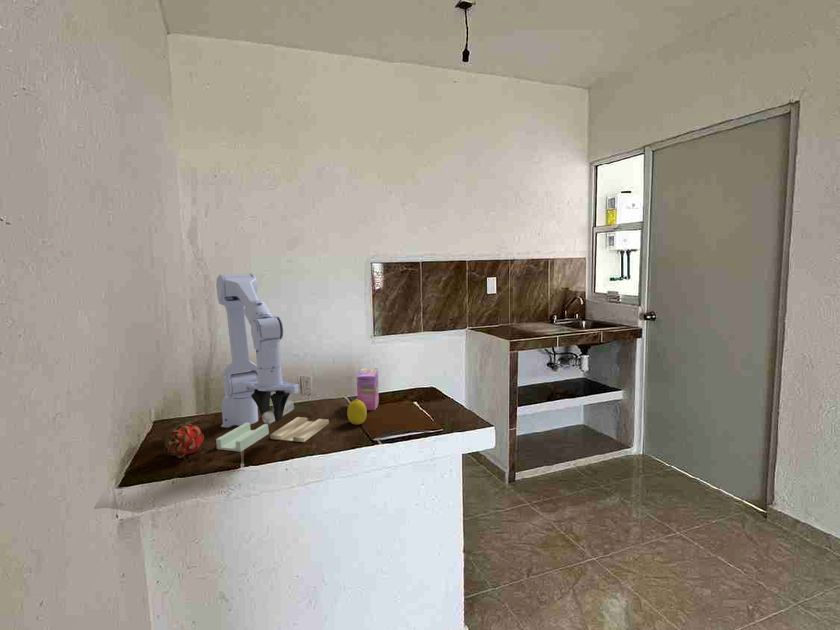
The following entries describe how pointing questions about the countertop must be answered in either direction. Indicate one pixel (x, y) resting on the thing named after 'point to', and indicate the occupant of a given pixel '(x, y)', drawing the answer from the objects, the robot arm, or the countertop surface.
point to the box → (368, 387)
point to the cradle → (241, 437)
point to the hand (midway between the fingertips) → (272, 419)
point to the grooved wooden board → (299, 429)
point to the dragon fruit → (183, 440)
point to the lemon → (356, 412)
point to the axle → (269, 415)
